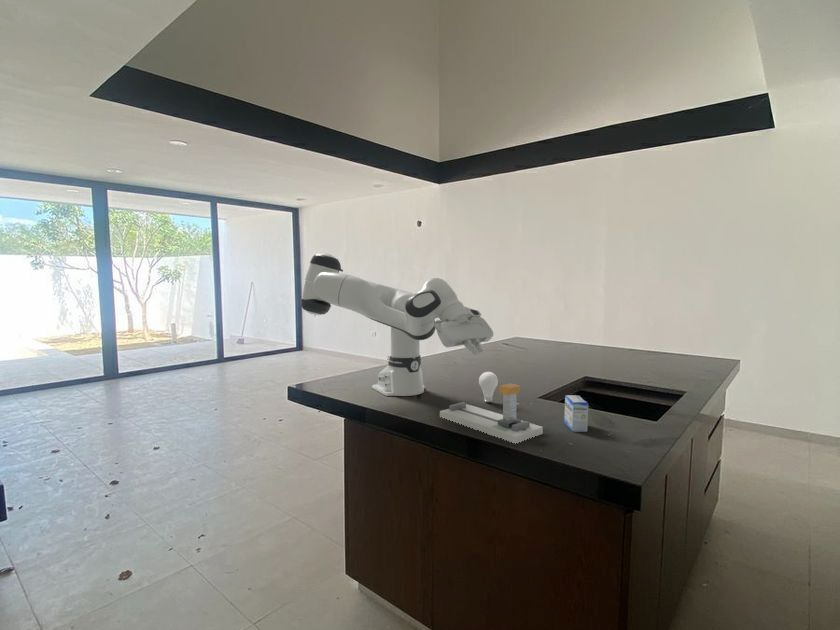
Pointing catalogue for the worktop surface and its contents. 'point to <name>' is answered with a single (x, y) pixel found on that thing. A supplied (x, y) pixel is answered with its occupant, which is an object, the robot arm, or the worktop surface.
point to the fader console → (490, 422)
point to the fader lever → (509, 404)
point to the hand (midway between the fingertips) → (478, 353)
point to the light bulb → (488, 385)
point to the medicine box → (576, 413)
